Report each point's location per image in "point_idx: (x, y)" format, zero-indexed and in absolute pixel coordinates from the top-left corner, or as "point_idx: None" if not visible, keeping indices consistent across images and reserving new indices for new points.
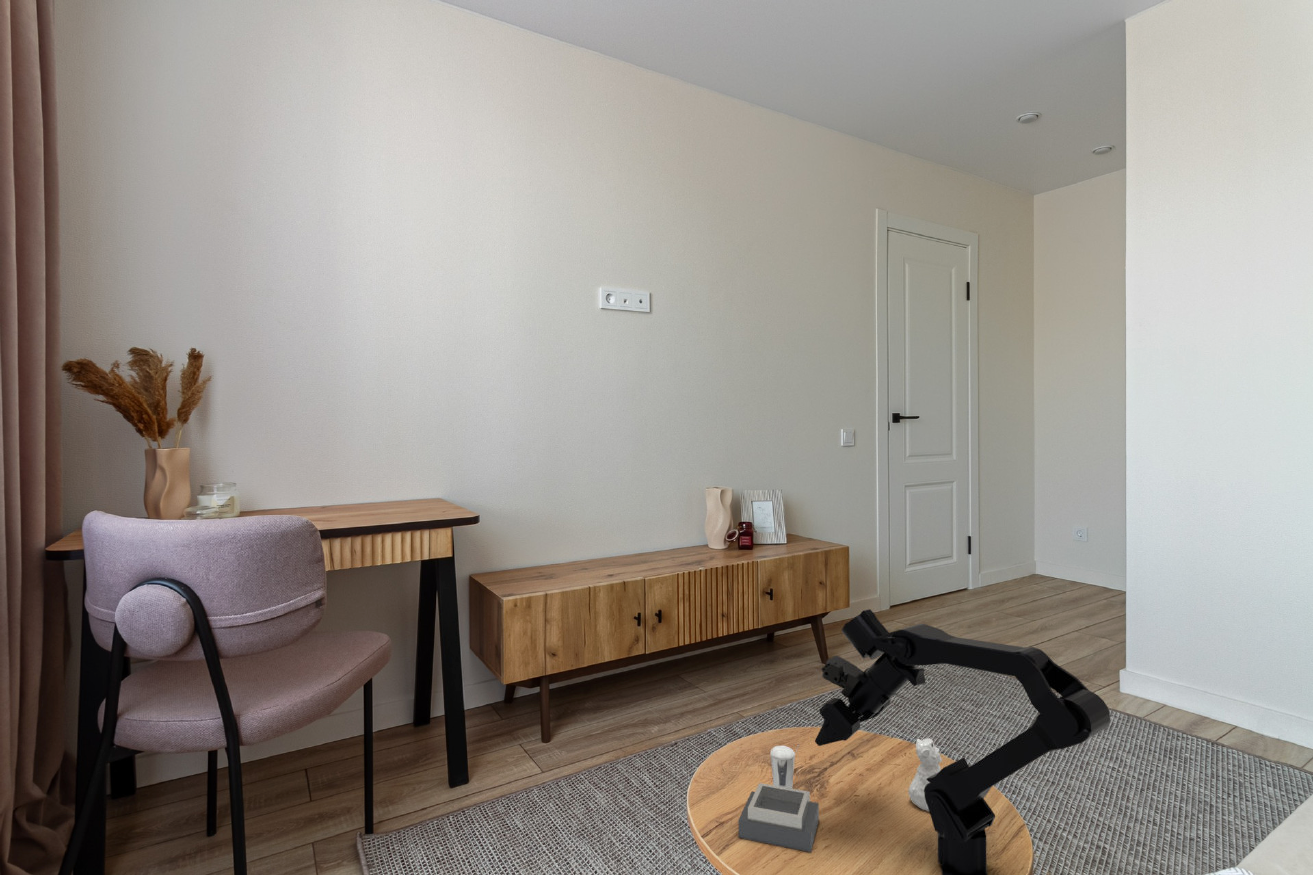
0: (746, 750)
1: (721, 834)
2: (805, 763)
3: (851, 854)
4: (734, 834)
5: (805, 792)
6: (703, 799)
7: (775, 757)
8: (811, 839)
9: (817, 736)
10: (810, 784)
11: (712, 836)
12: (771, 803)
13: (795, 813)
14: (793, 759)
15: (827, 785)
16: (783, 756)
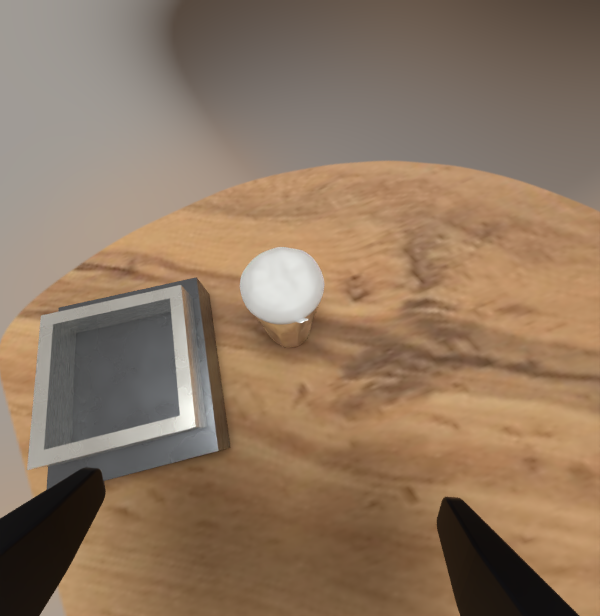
0: (429, 186)
1: (89, 289)
2: (472, 310)
3: (110, 594)
4: None
5: (185, 417)
6: (195, 209)
7: (241, 277)
8: None
9: (17, 510)
10: (382, 361)
11: (76, 279)
12: (161, 339)
13: (136, 413)
14: (280, 325)
15: (406, 400)
16: (244, 298)
